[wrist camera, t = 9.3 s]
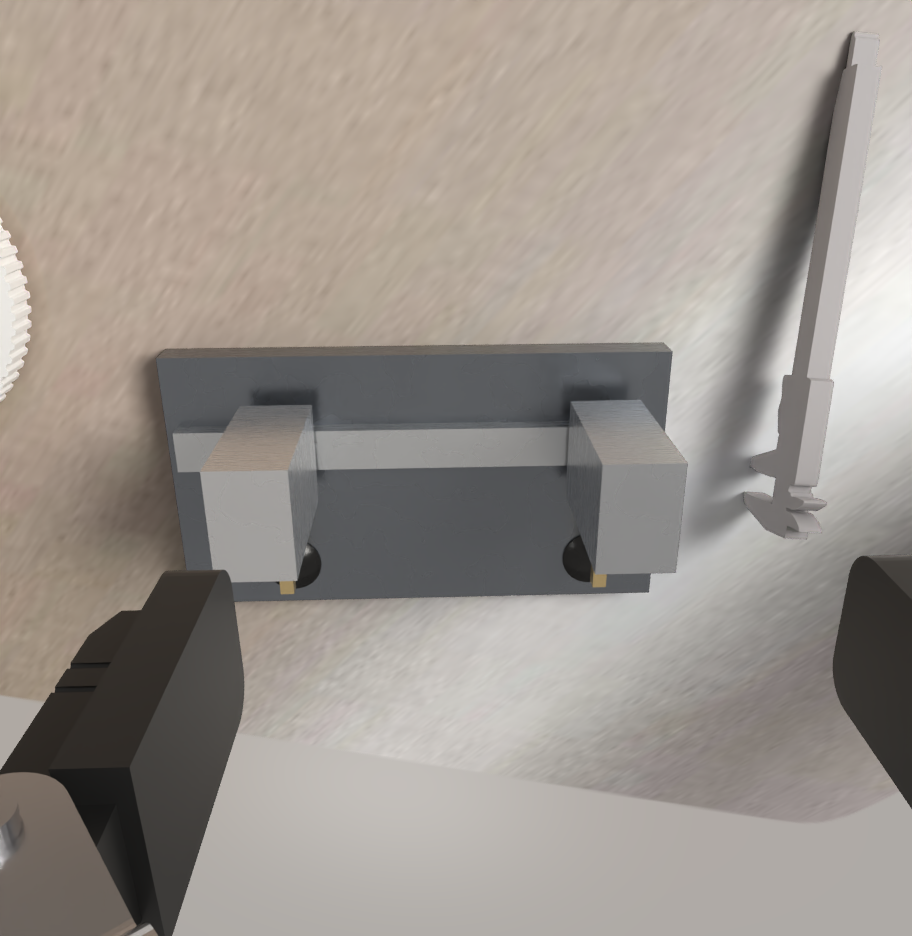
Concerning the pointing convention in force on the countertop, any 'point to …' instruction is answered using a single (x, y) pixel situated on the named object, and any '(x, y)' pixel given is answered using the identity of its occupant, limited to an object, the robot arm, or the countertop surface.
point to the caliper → (821, 307)
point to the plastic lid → (12, 314)
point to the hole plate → (417, 459)
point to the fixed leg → (624, 488)
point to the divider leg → (262, 494)
